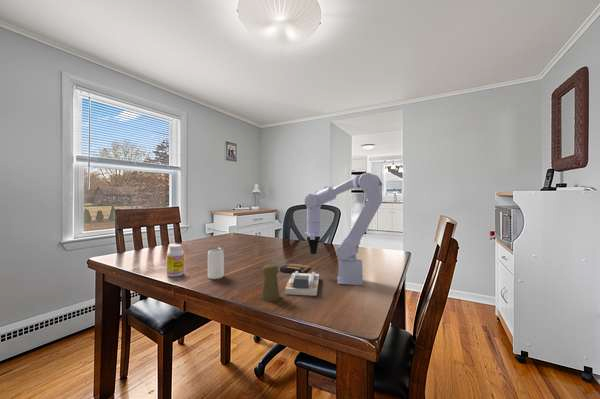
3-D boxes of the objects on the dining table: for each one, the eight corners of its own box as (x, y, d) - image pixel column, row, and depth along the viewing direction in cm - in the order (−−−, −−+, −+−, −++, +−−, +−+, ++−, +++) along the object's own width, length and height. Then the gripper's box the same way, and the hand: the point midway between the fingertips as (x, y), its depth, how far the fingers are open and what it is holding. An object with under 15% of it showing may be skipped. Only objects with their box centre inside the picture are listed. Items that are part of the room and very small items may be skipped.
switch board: (319, 278, 104) (319, 270, 103) (316, 295, 86) (316, 285, 86) (292, 277, 105) (292, 269, 105) (284, 294, 87) (284, 283, 87)
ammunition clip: (300, 274, 109) (311, 268, 120) (300, 270, 109) (311, 264, 120) (279, 271, 114) (292, 265, 124) (279, 267, 114) (292, 261, 124)
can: (227, 276, 107) (227, 248, 107) (214, 280, 101) (214, 251, 101) (217, 273, 110) (216, 246, 110) (204, 277, 105) (204, 249, 105)
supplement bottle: (172, 278, 105) (172, 247, 104) (163, 275, 108) (163, 245, 108) (187, 273, 110) (187, 244, 110) (178, 271, 114) (178, 243, 114)
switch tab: (309, 284, 91) (309, 275, 91) (308, 288, 87) (308, 279, 87) (295, 283, 91) (295, 275, 91) (293, 287, 87) (293, 278, 87)
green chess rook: (271, 302, 80) (271, 268, 80) (257, 298, 83) (257, 265, 83) (283, 296, 85) (282, 264, 85) (269, 292, 88) (269, 261, 88)
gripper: (305, 220, 115) (306, 249, 115) (302, 223, 101) (302, 257, 101) (321, 220, 114) (321, 250, 115) (319, 224, 100) (319, 257, 100)
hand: (313, 253), depth 108 cm, fingers closed
